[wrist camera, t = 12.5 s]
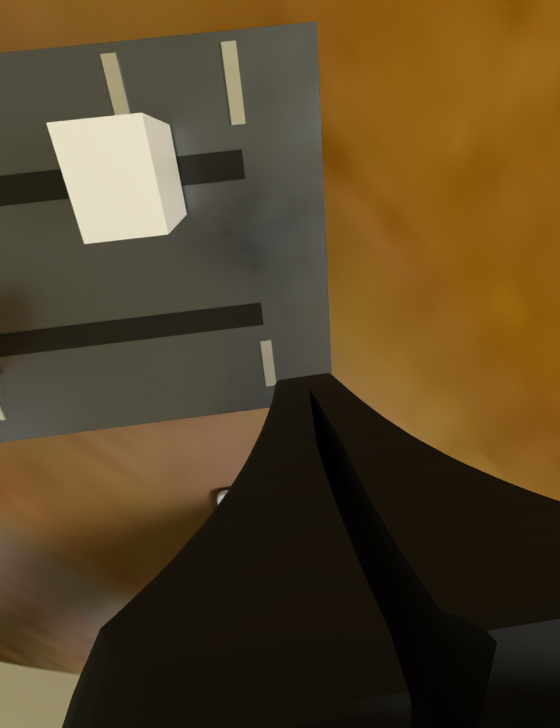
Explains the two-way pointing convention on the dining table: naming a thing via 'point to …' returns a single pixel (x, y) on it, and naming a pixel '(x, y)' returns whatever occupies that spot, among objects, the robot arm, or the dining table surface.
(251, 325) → the console
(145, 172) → the fader
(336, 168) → the dining table surface
